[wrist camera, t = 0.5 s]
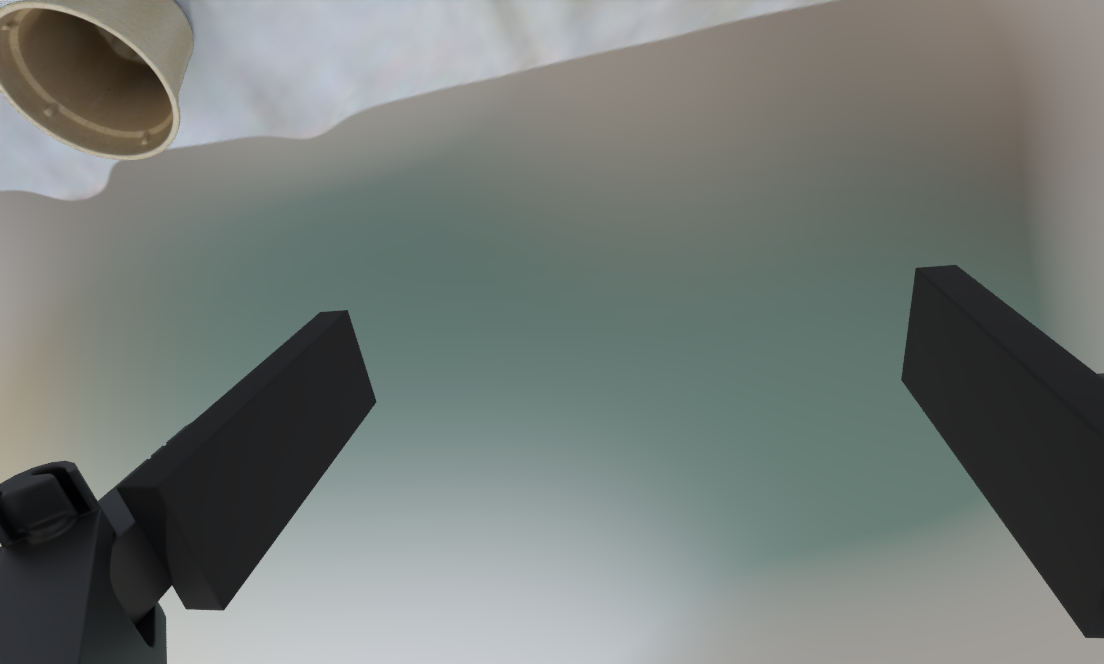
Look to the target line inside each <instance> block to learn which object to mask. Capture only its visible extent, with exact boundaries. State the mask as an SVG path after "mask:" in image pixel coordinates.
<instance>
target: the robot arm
mask: <svg viewBox="0 0 1104 664" xmlns="http://www.w3.org/2000/svg"><path fill="white" fill-rule="evenodd" d="M901 380H902V382H903V383H904V384H905V386H906V387H907V388H908V390H909V391H910V393H911V394H912V396H913V397H914V398H915V400H916V401H917V402H918V404H919V405H920V407H921V408H922V409H923V411H924V412H925V414H926V415H927V416H928V418H929V419H930V421H931V422H932V423H933V425H934V426H935V428H936V429H937V430H938V432H939V433H940V435H941V436H942V438H943V439H944V440H945V442H946V443H947V444H948V446H949V447H950V449H951V450H952V451H953V453H954V454H955V456H956V457H957V458H958V460H959V461H960V462H961V464H962V465H963V467H964V468H965V470H966V471H967V472H968V474H969V475H970V477H971V478H972V479H973V481H974V482H975V484H976V485H977V486H978V488H979V489H980V491H981V492H982V493H983V495H984V496H985V498H986V499H987V500H988V502H989V503H990V505H991V506H992V507H993V509H994V510H995V512H996V513H997V514H998V516H999V517H1000V518H1001V520H1002V521H1003V523H1004V524H1005V526H1006V527H1007V528H1008V530H1009V531H1010V533H1011V534H1012V535H1013V537H1014V538H1015V539H1016V541H1017V542H1018V544H1019V545H1020V547H1021V548H1022V549H1023V551H1024V552H1025V553H1026V555H1027V556H1028V558H1029V559H1030V561H1031V562H1032V563H1033V565H1034V566H1035V568H1036V569H1037V570H1038V572H1039V573H1040V575H1041V576H1042V577H1043V579H1044V580H1045V581H1046V583H1047V584H1048V586H1049V587H1050V588H1051V590H1052V591H1053V593H1054V594H1055V595H1056V597H1057V598H1058V600H1059V601H1060V603H1061V604H1062V605H1063V607H1064V608H1065V610H1066V611H1067V612H1068V614H1069V615H1070V616H1071V618H1072V619H1073V621H1074V622H1075V623H1076V625H1077V626H1078V628H1079V629H1080V631H1081V632H1082V633H1083V635H1084V636H1085V637H1086V638H1104V374H1096V373H1095V372H1094V371H1092V370H1091V369H1090V368H1088V367H1087V366H1086V365H1085V364H1083V363H1082V362H1081V361H1079V360H1078V359H1077V358H1076V357H1074V356H1073V355H1072V354H1070V353H1069V352H1068V351H1067V350H1065V349H1064V348H1063V347H1061V346H1060V345H1059V344H1057V343H1056V342H1055V341H1054V340H1052V339H1051V338H1049V337H1048V336H1047V335H1046V334H1045V333H1043V332H1042V331H1041V330H1039V329H1038V328H1036V326H1034V325H1033V324H1032V323H1030V322H1029V321H1028V320H1026V319H1025V318H1024V317H1023V316H1021V315H1020V314H1018V313H1017V312H1016V311H1015V310H1014V309H1012V308H1011V307H1009V306H1008V305H1007V304H1005V303H1004V302H1003V301H1002V300H1000V299H999V298H998V297H997V296H995V295H994V294H993V293H991V292H990V291H989V290H988V289H986V288H985V287H984V286H982V285H981V284H980V283H978V282H977V281H976V280H975V279H973V278H972V277H971V276H969V275H968V274H967V273H966V272H964V271H963V270H962V269H960V268H959V267H958V266H956V265H950V266H936V267H923V268H916V271H915V278H914V286H913V294H912V301H911V309H910V317H909V326H908V333H907V340H906V348H905V356H904V363H903V372H902V379H901ZM375 403H376V399H375V396H374V393H373V389H372V386H371V383H370V380H369V377H368V373H367V371H366V367H365V364H364V361H363V358H362V354H361V351H360V348H359V345H358V342H357V339H356V335H355V332H354V329H353V326H352V323H351V319H350V316H349V313H348V310H344V311H330V312H320V313H319V314H318V315H316V316H315V317H314V318H313V319H312V320H311V321H310V322H308V323H307V324H306V325H305V326H304V327H302V329H300V330H299V331H298V332H297V333H295V335H293V336H292V337H291V338H290V339H289V340H287V341H286V342H285V343H284V344H283V345H282V346H280V347H279V348H278V349H277V350H276V351H275V352H273V353H272V354H271V355H270V356H269V357H268V358H266V359H265V360H264V361H263V362H262V363H261V364H259V365H258V366H257V367H256V368H255V369H254V370H252V371H251V372H250V373H249V374H248V375H247V376H246V377H244V378H243V379H242V380H241V381H240V382H239V383H237V384H236V385H235V386H234V387H233V388H232V389H231V390H229V391H228V392H227V393H226V394H225V395H224V396H222V397H221V398H220V399H219V400H218V401H217V402H215V403H214V404H213V405H212V406H211V407H209V409H207V410H206V411H205V412H204V413H203V414H201V415H200V416H199V417H198V418H197V419H196V420H194V421H193V422H192V423H190V424H188V425H187V426H185V427H184V428H183V429H182V430H181V431H179V432H178V433H177V434H176V435H175V436H173V437H172V438H171V439H170V440H169V441H168V442H166V443H167V444H166V446H162V447H161V448H159V449H158V450H157V451H156V452H155V453H154V454H152V455H151V458H150V459H147V460H145V461H144V462H143V463H142V464H141V465H140V466H138V467H137V468H136V469H135V470H134V471H133V472H131V473H130V474H129V475H128V476H127V477H125V479H123V480H122V481H121V482H120V483H119V484H117V485H116V486H115V487H114V488H113V489H112V490H110V491H109V492H108V493H107V494H106V495H104V496H103V497H102V498H101V499H100V500H99V501H97V500H96V498H95V496H94V495H93V493H92V492H91V490H90V488H89V486H88V485H87V483H86V481H85V480H84V478H83V476H82V475H81V473H80V471H79V470H78V468H77V466H76V465H75V463H72V462H68V461H60V462H51V463H48V464H44V465H41V466H37V467H34V468H31V469H29V470H27V471H24V472H22V473H20V474H17V475H15V476H13V477H11V478H10V479H8V480H6V481H4V482H3V483H1V484H0V543H1V545H2V546H1V547H0V664H167V653H166V652H167V651H166V616H165V614H164V612H163V609H162V608H161V606H160V604H159V603H158V601H159V600H160V598H161V597H162V596H163V595H164V593H166V591H167V590H168V589H169V588H170V587H171V586H173V587H174V589H175V591H176V593H177V594H178V596H179V598H180V599H181V601H182V603H183V605H184V606H185V608H186V609H195V610H225V608H226V607H227V605H228V604H229V602H230V601H231V600H232V599H233V597H234V596H235V594H236V593H237V592H238V590H239V589H240V588H241V586H242V585H243V584H244V582H245V581H246V579H247V578H248V577H249V575H250V574H251V572H252V571H253V570H254V568H255V567H256V566H257V564H258V563H259V562H260V560H261V559H262V558H263V556H264V555H265V554H266V552H267V551H268V549H269V548H270V547H271V545H272V544H273V543H274V541H275V540H276V538H277V537H278V536H279V534H280V533H281V532H282V530H283V529H284V527H285V526H286V525H287V523H288V522H289V521H290V519H291V518H292V517H293V515H294V514H295V513H296V511H297V510H298V508H299V507H300V506H301V504H302V503H303V501H304V500H305V499H306V497H307V496H308V495H309V493H310V492H311V490H312V489H313V488H314V487H315V485H316V484H317V482H318V481H319V480H320V478H321V477H322V476H323V474H324V473H325V472H326V470H327V469H328V467H329V466H330V465H331V463H332V462H333V461H334V459H335V458H336V457H337V455H338V454H339V452H340V451H341V450H342V448H343V447H344V446H345V444H346V443H347V441H348V440H349V439H350V437H351V436H352V434H353V433H354V432H355V430H356V429H357V428H358V426H359V425H360V424H361V422H362V421H363V420H364V418H365V417H366V416H367V414H368V413H369V411H370V410H371V409H372V407H373V406H374V405H375Z"/></svg>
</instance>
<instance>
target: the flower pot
mask: <svg viewBox="0 0 1104 664" xmlns="http://www.w3.org/2000/svg"><path fill="white" fill-rule="evenodd" d="M193 45H194V42H193V34H192V30H191V27H190V24H189V22H188V20H187V18H186V16H185V14H184V13H183V11H182V10H181V8H180V7H179V6H178V5H177V3H176V2H175V1H174V0H23V1H18V2H13V3H10V4H7V5H5V6H3V7H1V8H0V92H1V93H2V94H3V96H4V97H5V98H6V99H7V100H8V102H9V103H10V104H11V105H12V106H13V107H14V108H15V109H16V110H17V111H18V112H19V113H20V114H22V115H23V116H24V117H25V118H26V119H27V120H28V121H29V122H31V123H32V124H34V125H35V126H36V127H38V128H39V129H41V130H42V131H43V132H45V133H46V134H47V135H49V136H51V137H53V138H55V139H56V140H58V141H60V142H62V143H64V144H66V145H68V146H70V147H73V148H75V149H77V150H79V151H82V152H85V153H88V154H91V155H95V156H99V157H102V158H108V159H117V160H136V159H143V158H148V157H151V156H154V155H156V154H159V153H160V152H162V151H164V150H165V149H166V148H167V147H168V146H169V145H170V144H171V143H172V142H173V140H174V139H175V137H176V135H177V132H178V129H179V125H180V109H179V104H178V103H179V101H178V93H179V90H180V87H181V84H182V81H183V78H184V74H185V71H186V68H187V65H188V62H189V59H190V57H191V55H192V51H193Z"/></svg>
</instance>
